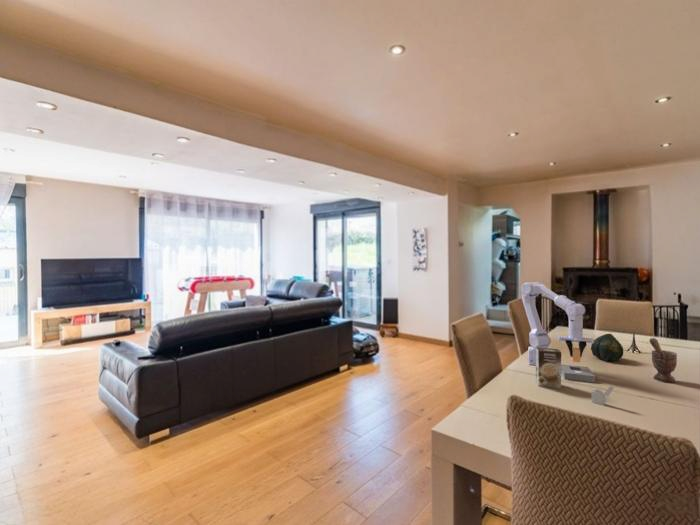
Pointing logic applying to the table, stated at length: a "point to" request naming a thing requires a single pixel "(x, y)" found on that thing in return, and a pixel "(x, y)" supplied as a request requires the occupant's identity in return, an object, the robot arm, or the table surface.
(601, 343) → the squash
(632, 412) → the table surface
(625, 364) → the table surface
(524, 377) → the table surface
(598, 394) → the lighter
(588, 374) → the grey flat block
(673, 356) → the mortar and pestle
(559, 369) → the coffee box
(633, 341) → the eiffel tower figurine
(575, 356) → the plug
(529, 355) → the robot arm
